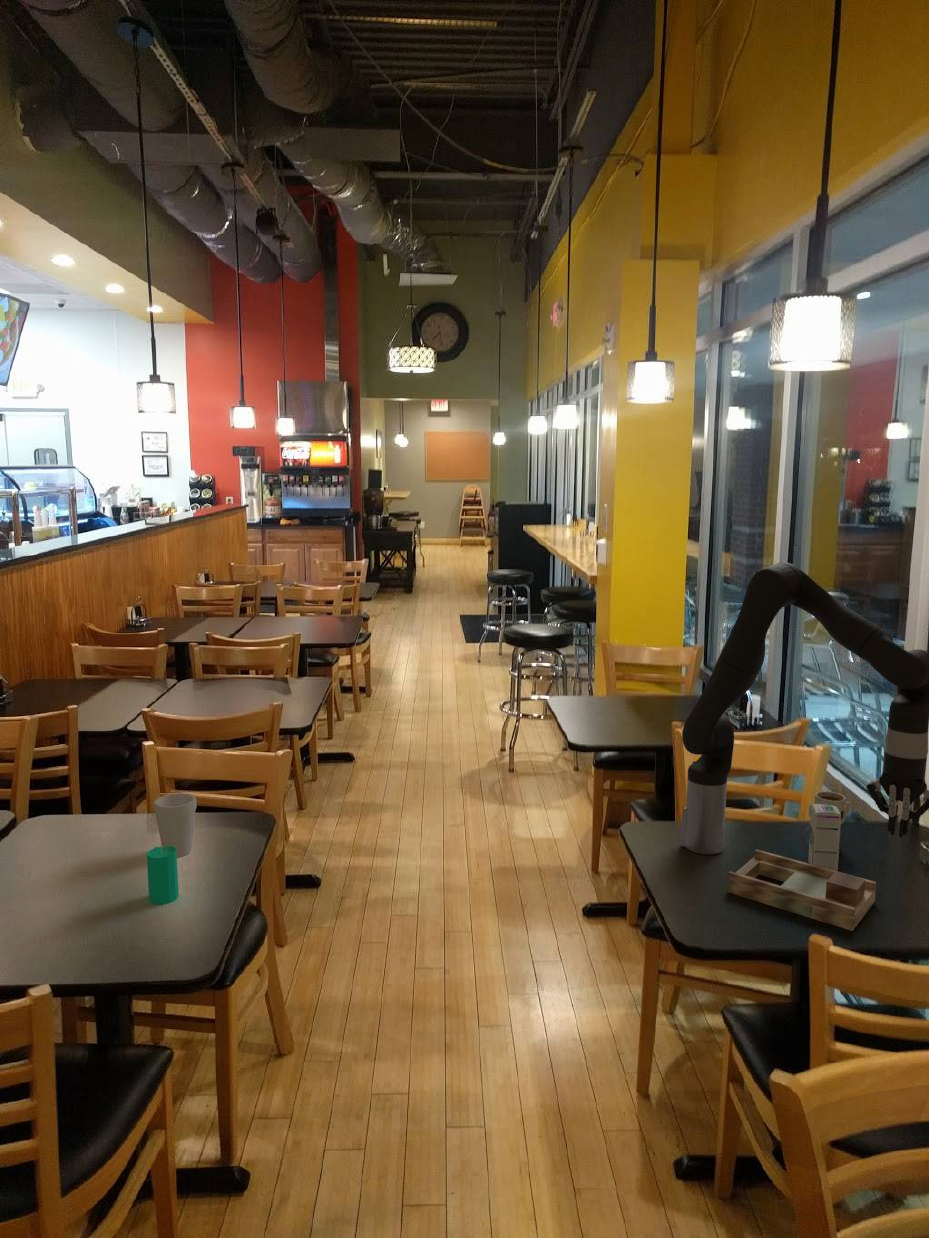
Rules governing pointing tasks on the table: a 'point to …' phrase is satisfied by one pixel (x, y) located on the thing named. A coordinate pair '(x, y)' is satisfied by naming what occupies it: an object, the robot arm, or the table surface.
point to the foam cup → (176, 821)
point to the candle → (162, 875)
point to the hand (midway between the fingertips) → (898, 834)
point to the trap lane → (797, 889)
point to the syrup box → (824, 836)
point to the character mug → (832, 802)
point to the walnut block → (845, 888)
